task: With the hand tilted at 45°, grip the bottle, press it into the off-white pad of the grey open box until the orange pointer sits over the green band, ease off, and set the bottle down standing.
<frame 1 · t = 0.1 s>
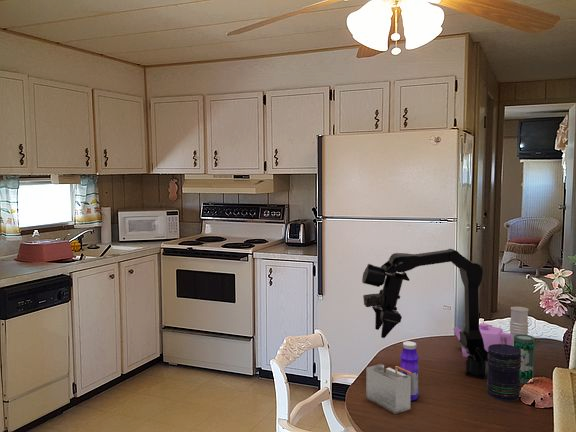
hand: (379, 333, 185), 15 cm above the table, tool pointing down, fingers open, 9 cm apart
grey open box: (392, 402, 167), on the table
teakettle: (481, 356, 207), on the table
can: (523, 380, 183), on the table
storage jar: (503, 395, 171), on the table
bottle: (409, 397, 171), on the table
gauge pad: (399, 382, 167), point 6 cm above the table, slide at 0.0 cm
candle: (518, 345, 219), on the table
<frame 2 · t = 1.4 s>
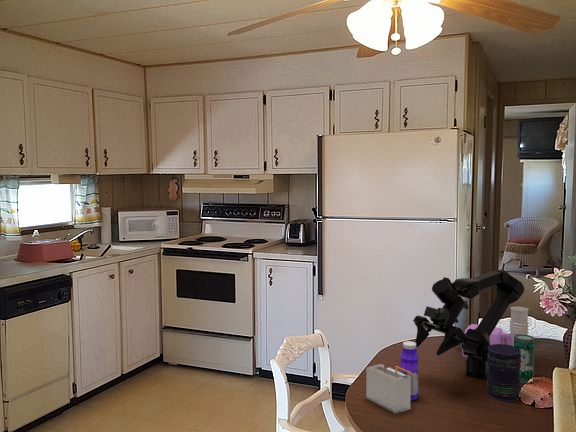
hand: (426, 350, 173), 13 cm above the table, tool tilted 45°, fingers open, 9 cm apart
nothing on the table moved.
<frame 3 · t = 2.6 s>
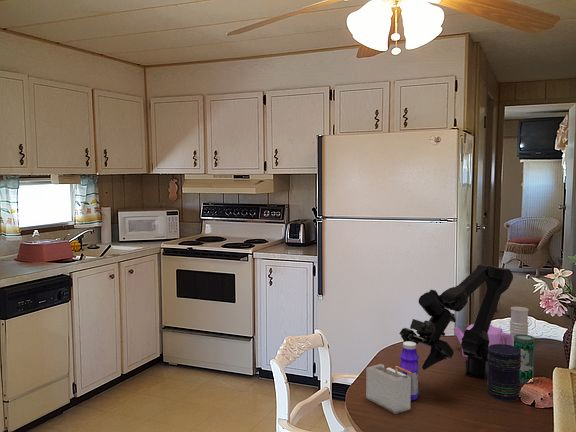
hand: (412, 364, 170), 10 cm above the table, tool tilted 45°, fingers open, 9 cm apart
nothing on the table moved.
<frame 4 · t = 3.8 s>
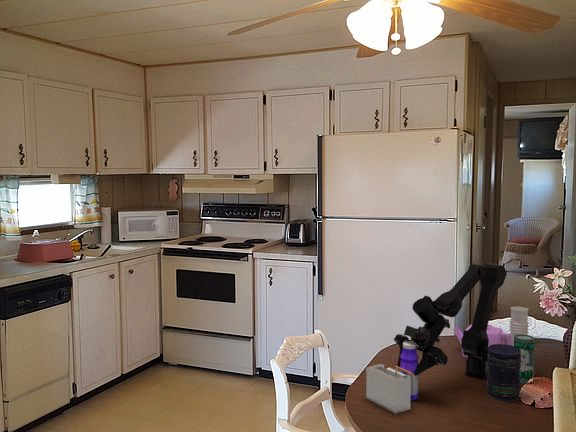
hand: (406, 371, 169), 9 cm above the table, tool tilted 45°, fingers closed on bottle, 7 cm apart
bottle: (409, 397, 171), on the table, touching gripper
everything else where it was.
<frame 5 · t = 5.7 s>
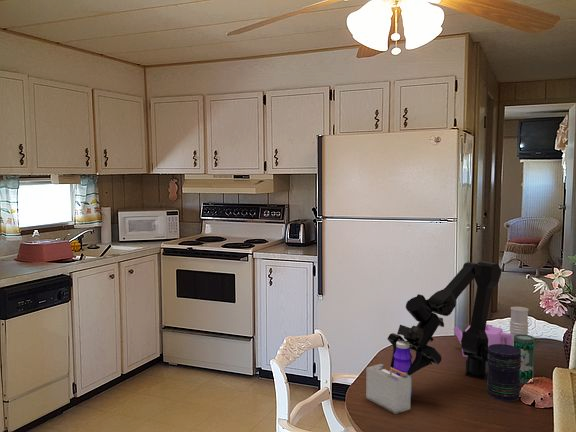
hand: (399, 370, 167), 9 cm above the table, tool tilted 45°, fingers closed on bottle, 7 cm apart
bottle: (402, 397, 169), point 1 cm above the table, touching gripper
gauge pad: (394, 384, 165), point 6 cm above the table, slide at 2.3 cm
everything else where it was.
when the fingers open (9 cm above the table, at t = 7.9 s): bottle stays where it is, on the table.
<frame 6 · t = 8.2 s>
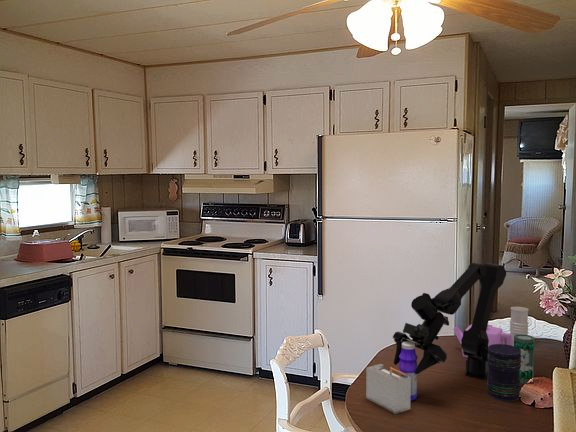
hand: (405, 368, 169), 10 cm above the table, tool tilted 45°, fingers open, 9 cm apart
bottle: (408, 397, 170), on the table
everything else where it was.
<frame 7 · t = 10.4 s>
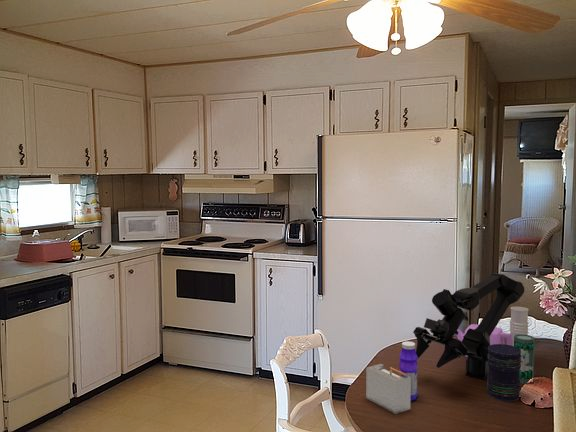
hand: (426, 362, 174), 10 cm above the table, tool tilted 45°, fingers open, 9 cm apart
nothing on the table moved.
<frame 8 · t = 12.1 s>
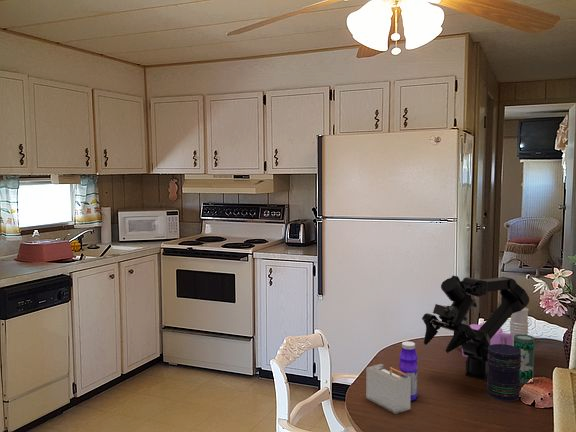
hand: (435, 348, 175), 14 cm above the table, tool tilted 45°, fingers open, 9 cm apart
nothing on the table moved.
at the end: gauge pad slide at 2.3 cm; bottle tilted 0°; the gripper is holding nothing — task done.
